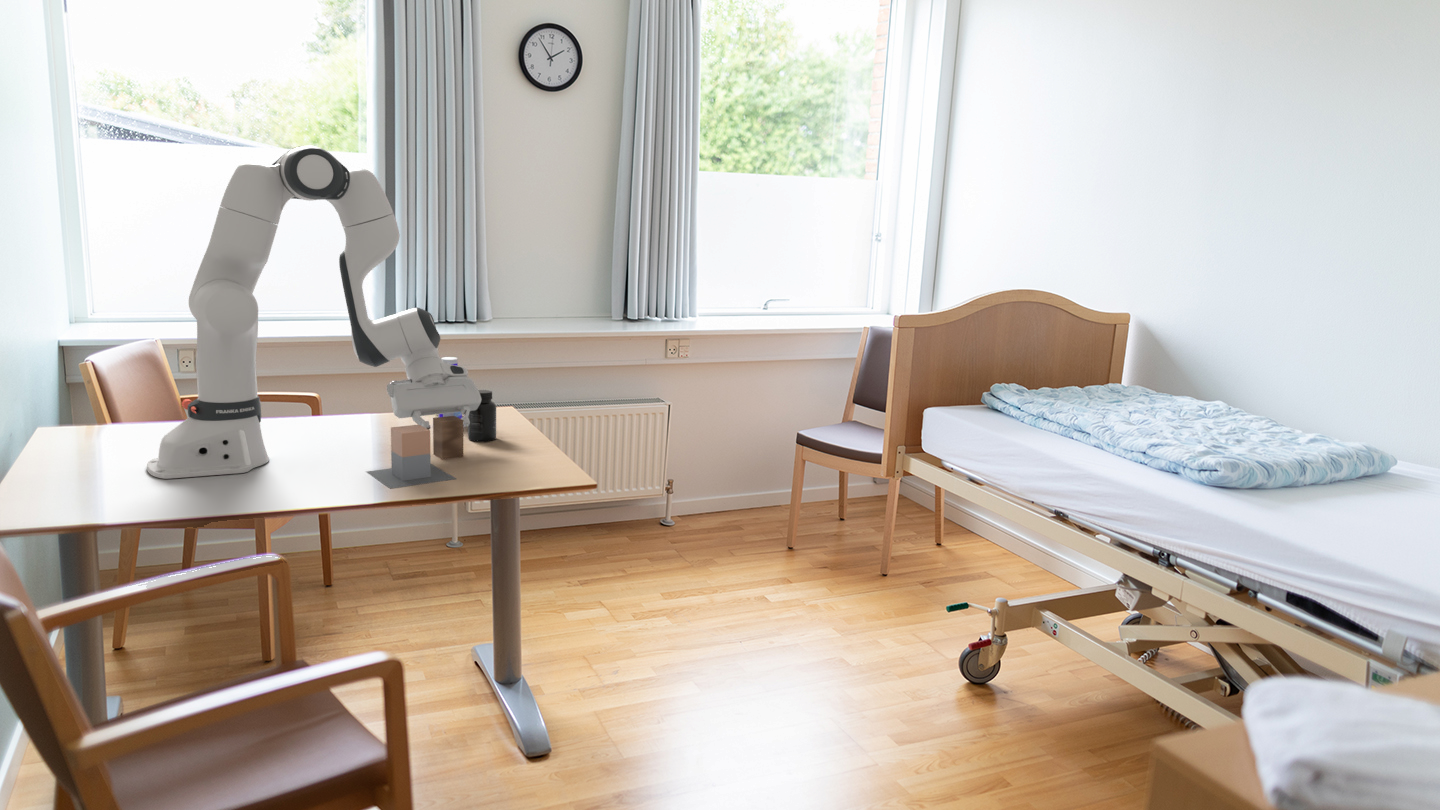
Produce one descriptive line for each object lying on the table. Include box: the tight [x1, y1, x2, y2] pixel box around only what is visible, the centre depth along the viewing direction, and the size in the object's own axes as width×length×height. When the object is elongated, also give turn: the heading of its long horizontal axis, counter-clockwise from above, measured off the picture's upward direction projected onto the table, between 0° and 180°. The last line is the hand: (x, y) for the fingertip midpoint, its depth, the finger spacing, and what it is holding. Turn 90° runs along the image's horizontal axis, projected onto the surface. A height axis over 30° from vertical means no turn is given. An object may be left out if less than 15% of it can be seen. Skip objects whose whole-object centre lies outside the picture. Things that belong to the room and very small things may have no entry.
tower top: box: [390, 424, 431, 457], centre depth 191 cm, size 6×6×5 cm
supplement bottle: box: [467, 389, 497, 443], centre depth 225 cm, size 7×7×12 cm
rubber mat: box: [366, 463, 457, 490], centre depth 192 cm, size 14×14×1 cm
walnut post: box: [432, 416, 464, 460], centre depth 208 cm, size 5×5×9 cm
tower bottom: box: [390, 450, 432, 481], centre depth 192 cm, size 6×6×5 cm
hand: (446, 427), depth 209 cm, fingers open, 8 cm apart
